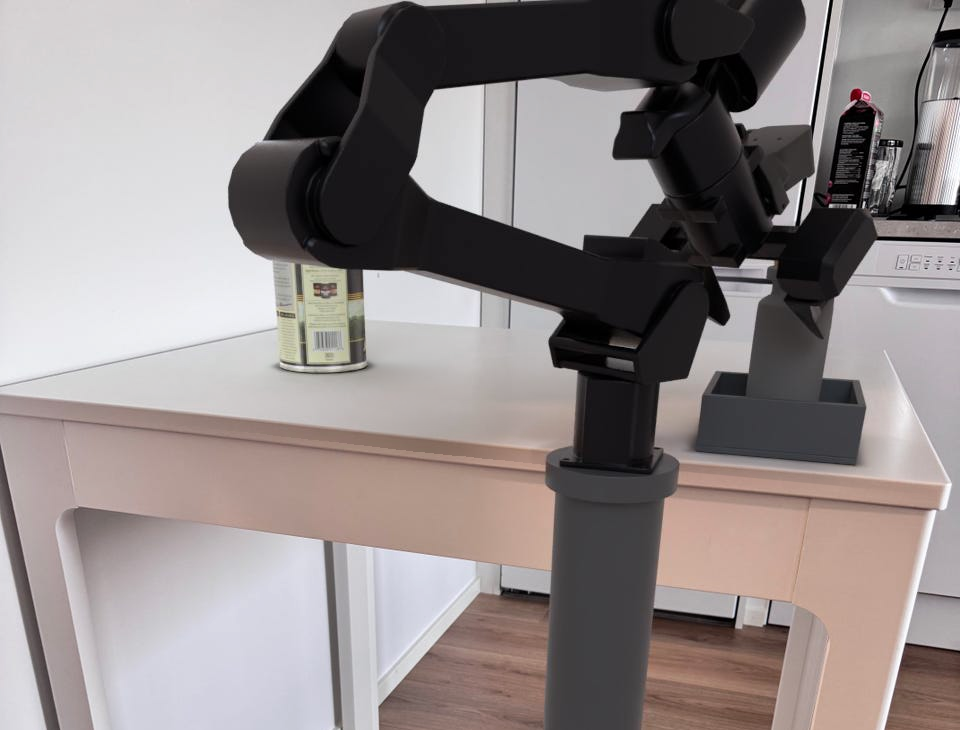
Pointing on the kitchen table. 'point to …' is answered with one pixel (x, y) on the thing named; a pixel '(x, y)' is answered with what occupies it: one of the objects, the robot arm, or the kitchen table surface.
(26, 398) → the kitchen table surface
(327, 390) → the kitchen table surface
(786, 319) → the bottle
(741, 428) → the open rectangular box
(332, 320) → the coffee can
